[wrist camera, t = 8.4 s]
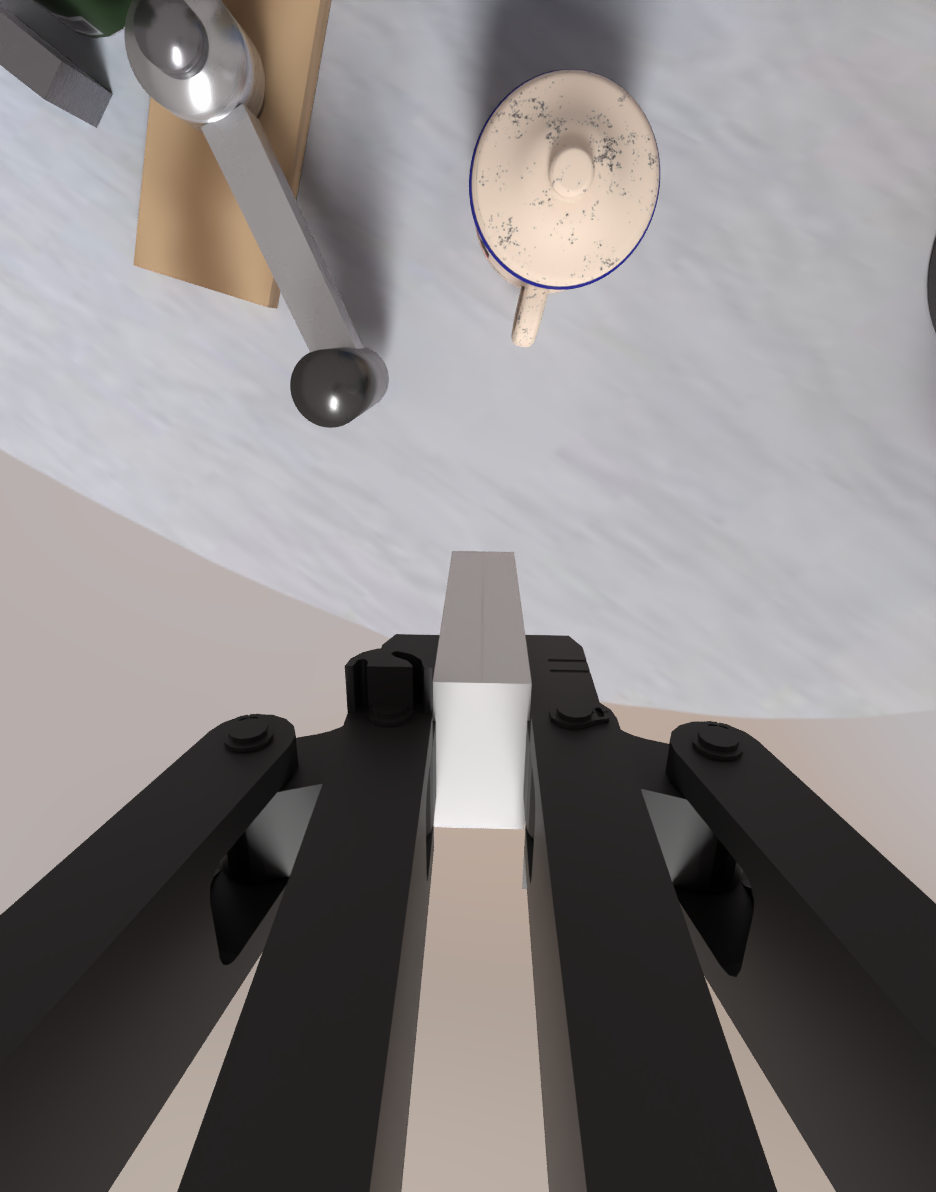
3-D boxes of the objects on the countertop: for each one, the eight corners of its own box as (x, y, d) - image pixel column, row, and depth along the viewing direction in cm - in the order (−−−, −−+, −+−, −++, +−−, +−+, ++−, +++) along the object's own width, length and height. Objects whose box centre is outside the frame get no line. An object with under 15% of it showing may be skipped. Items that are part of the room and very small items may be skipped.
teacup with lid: (490, 105, 38) (496, 13, 27) (644, 146, 38) (710, 73, 28) (445, 327, 42) (435, 325, 31) (584, 361, 43) (621, 371, 32)
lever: (66, -120, 32) (-77, -279, 24) (158, -179, 31) (42, -365, 23) (334, 423, 41) (298, 445, 33) (410, 388, 41) (392, 402, 32)
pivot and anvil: (281, 73, 37) (218, -9, 28) (263, 183, 39) (200, 137, 30) (0, -24, 36) (-160, -144, 27) (-3, 94, 38) (-153, 20, 29)
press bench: (339, -46, 35) (331, -67, 34) (277, 308, 42) (267, 307, 40) (189, -101, 35) (172, -126, 33) (149, 268, 41) (133, 265, 39)
